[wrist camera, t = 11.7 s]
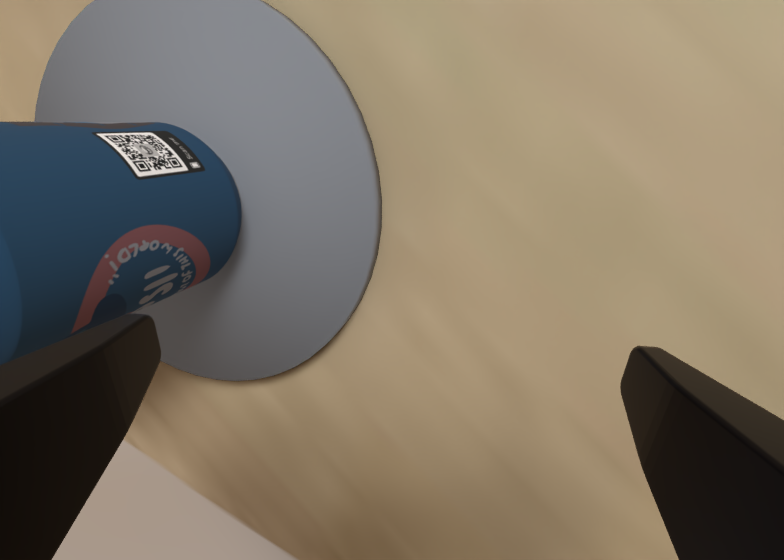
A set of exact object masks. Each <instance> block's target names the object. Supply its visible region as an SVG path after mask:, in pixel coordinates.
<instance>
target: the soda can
mask: <svg viewBox="0 0 784 560" xmlns="http://www.w3.org/2000/svg"><path fill="white" fill-rule="evenodd" d="M241 223H242V202H241V197H240V193H239V189H238V187H237V184H236V182H235V179H234V177H233V175H232V174H231V172H230V170H229V169H228V167H227V166H226V165H225V163H224V162H223V161H222V160H221V159H220V158H219V156H218V155H217V154H216V153H215V152H214V151H213V150H212V149H211V148H210V147H209V146H208V145H206V144H205V143H204V142H203V141H202V140H200V139H199V138H198V137H196V136H195V135H193V134H191V133H190V132H188V131H186V130H184V129H182V128H180V127H177V126H174V125H171V124H167V123H161V122H0V365H1V364H4V363H6V362H9V361H11V360H14V359H16V358H19V357H21V356H24V355H26V354H29V353H31V352H34V351H36V350H39V349H41V348H44V347H46V346H48V345H51V344H53V343H56V342H58V341H61V340H63V339H66V338H68V337H71V336H73V335H76V334H78V333H81V332H83V331H86V330H88V329H91V328H93V327H95V326H98V325H100V324H103V323H105V322H108V321H110V320H113V319H115V318H118V317H120V316H123V315H125V314H130V313H134V312H137V311H139V310H141V309H143V308H146V307H148V306H150V305H152V304H154V303H157V302H159V301H161V300H163V299H166V298H168V297H170V296H172V295H174V294H177V293H179V292H181V291H183V290H186V289H188V288H190V287H192V286H195V285H197V284H199V283H201V282H203V281H206V280H208V279H209V278H211V277H213V276H214V275H215V274H217V273H218V272H219V271H220V270H221V269H222V268H223V267H224V265H225V264H226V263H227V261H228V260H229V258H230V256H231V255H232V253H233V250H234V248H235V245H236V243H237V240H238V236H239V232H240V228H241Z"/></svg>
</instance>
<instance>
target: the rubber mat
mask: <svg viewBox="0 0 784 560" xmlns="http://www.w3.org/2000/svg"><path fill="white" fill-rule="evenodd" d="M35 122H161V123H167V124H171V125H174V126H177V127H180V128H182V129H184V130H186V131H188V132H190V133H191V134H193V135H195V136H196V137H198V138H199V139H200V140H202V141H203V142H204V143H205V144H206V145H208V146H209V147H210V148H211V149H212V150H213V151H214V152H215V153H216V154H217V155H218V156H219V158H220V159H221V160H222V161H223V162H224V163H225V165H226V166H227V167H228V169H229V170H230V172H231V174H232V175H233V177H234V179H235V182H236V184H237V187H238V189H239V193H240V197H241V202H242V223H241V228H240V232H239V236H238V240H237V243H236V245H235V248H234V250H233V253H232V255H231V256H230V258H229V260H228V261H227V263H226V264H225V265H224V267H223V268H222V269H221V270H220V271H219V272H218V273H217V274H215V275H214V276H213V277H211V278H209V279H208V280H206V281H203V282H201V283H199V284H197V285H195V286H192V287H190V288H188V289H186V290H183V291H181V292H179V293H177V294H174V295H172V296H170V297H168V298H166V299H163V300H161V301H159V302H157V303H154V304H152V305H150V306H148V307H146V308H143V309H141V310H139V311H137V312H134V313H133V314H147V315H150V316H151V317H152V318H153V319H154V322H155V326H156V330H157V334H158V339H159V343H160V347H161V359H160V361H162V362H164V363H166V364H168V365H171V366H173V367H175V368H177V369H179V370H182V371H185V372H188V373H191V374H194V375H197V376H202V377H207V378H211V379H216V380H230V381H242V380H256V379H260V378H265V377H269V376H273V375H276V374H279V373H281V372H284V371H286V370H289V369H291V368H294V367H295V366H297V365H299V364H300V363H302V362H304V361H305V360H307V359H309V358H310V357H312V356H313V355H314V354H315V353H316V352H317V351H319V350H320V349H321V348H322V347H323V346H325V345H326V344H327V343H328V342H329V341H330V340H331V339H332V338H333V337H334V336H335V335H336V334H337V333H338V332H339V330H340V329H341V328H342V327H343V326H344V325H345V323H346V322H347V321H348V320H349V319H350V317H351V316H352V314H353V312H354V311H355V309H356V308H357V306H358V304H359V303H360V301H361V300H362V297H363V295H364V293H365V291H366V288H367V286H368V284H369V281H370V279H371V276H372V273H373V269H374V266H375V262H376V258H377V255H378V249H379V242H380V235H381V227H382V196H381V187H380V178H379V170H378V166H377V162H376V157H375V153H374V149H373V144H372V141H371V138H370V135H369V132H368V130H367V127H366V124H365V121H364V119H363V116H362V113H361V111H360V109H359V107H358V105H357V103H356V101H355V99H354V97H353V95H352V93H351V91H350V89H349V87H348V86H347V84H346V83H345V81H344V80H343V78H342V77H341V75H340V74H339V72H338V71H337V69H336V68H335V66H334V65H333V63H332V62H331V60H330V59H329V58H328V57H327V56H326V54H325V53H324V52H323V51H322V50H321V49H320V47H319V46H318V45H317V44H316V43H315V42H314V40H313V39H312V38H311V37H310V36H309V35H308V34H306V33H305V32H304V31H303V30H302V29H301V28H300V27H298V26H297V25H296V24H295V23H294V22H293V21H292V20H291V19H289V18H288V17H287V16H285V15H284V14H282V13H281V12H279V11H278V10H276V9H275V8H273V7H272V6H270V5H269V4H267V3H266V2H264V1H261V0H94V1H93V2H91V3H90V4H89V5H87V6H86V7H85V8H84V9H83V10H82V12H81V13H80V14H79V15H78V16H77V17H76V18H75V19H74V20H73V21H72V22H71V23H70V25H69V26H68V28H67V29H66V31H65V32H64V33H63V35H62V36H61V38H60V39H59V41H58V43H57V45H56V47H55V49H54V51H53V53H52V55H51V57H50V59H49V61H48V63H47V66H46V69H45V72H44V75H43V78H42V81H41V84H40V89H39V94H38V99H37V104H36V111H35Z"/></svg>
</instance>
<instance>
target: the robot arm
mask: <svg viewBox="0 0 784 560" xmlns="http://www.w3.org/2000/svg"><path fill="white" fill-rule="evenodd" d="M160 359H161V347H160V343H159V339H158V334H157V330H156V326H155V322H154V319H153V318H152V317H151V316H150V315H147V314H133V313H130V314H125V315H123V316H120V317H118V318H115V319H113V320H110V321H108V322H105V323H103V324H100V325H98V326H95V327H93V328H91V329H88V330H86V331H83V332H81V333H78V334H76V335H73V336H71V337H68V338H66V339H63V340H61V341H58V342H56V343H53V344H51V345H48V346H46V347H44V348H41V349H39V350H36V351H34V352H31V353H29V354H26V355H24V356H21V357H19V358H16V359H14V360H11V361H9V362H6V363H4V364H1V365H0V560H52V558H53V556H54V555H55V553H56V551H57V549H58V548H59V546H60V545H61V543H62V541H63V539H64V538H65V536H66V534H67V533H68V531H69V529H70V528H71V526H72V524H73V523H74V521H75V519H76V518H77V516H78V514H79V513H80V511H81V509H82V508H83V506H84V504H85V503H86V501H87V499H88V498H89V496H90V494H91V492H92V491H93V489H94V488H95V486H96V484H97V482H98V481H99V479H100V477H101V476H102V474H103V472H104V471H105V469H106V467H107V466H108V464H109V462H110V461H111V459H112V457H113V456H114V454H115V452H116V451H117V449H118V447H119V446H120V444H121V442H122V440H123V439H124V437H125V435H126V433H127V432H128V430H129V428H130V426H131V424H132V422H133V420H134V418H135V415H136V413H137V411H138V409H139V407H140V404H141V402H142V400H143V398H144V396H145V393H146V391H147V389H148V387H149V385H150V383H151V380H152V378H153V376H154V374H155V372H156V369H157V367H158V365H159V363H160ZM621 395H622V399H623V402H624V406H625V410H626V413H627V417H628V420H629V424H630V428H631V431H632V435H633V438H634V442H635V445H636V449H637V453H638V456H639V459H640V462H641V466H642V469H643V471H644V474H645V477H646V479H647V482H648V484H649V487H650V489H651V492H652V494H653V497H654V499H655V502H656V504H657V507H658V509H659V512H660V514H661V516H662V519H663V521H664V524H665V526H666V529H667V531H668V534H669V536H670V539H671V541H672V544H673V546H674V549H675V551H676V553H677V556H678V558H679V560H784V420H782V419H781V418H779V417H777V416H776V415H774V414H772V413H770V412H769V411H767V410H765V409H764V408H762V407H760V406H758V405H757V404H755V403H753V402H752V401H750V400H748V399H746V398H745V397H743V396H741V395H740V394H738V393H736V392H734V391H733V390H731V389H729V388H728V387H726V386H724V385H722V384H721V383H719V382H717V381H716V380H714V379H712V378H710V377H709V376H707V375H705V374H704V373H702V372H700V371H698V370H697V369H695V368H693V367H692V366H690V365H688V364H687V363H685V362H683V361H681V360H680V359H678V358H676V357H675V356H673V355H671V354H669V353H668V352H666V351H664V350H663V349H661V348H658V347H647V346H637V347H635V348H633V350H632V351H631V353H630V356H629V359H628V362H627V365H626V368H625V371H624V374H623V377H622V380H621Z"/></svg>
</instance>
